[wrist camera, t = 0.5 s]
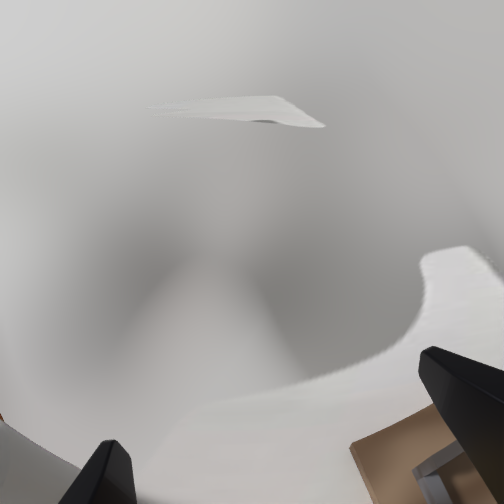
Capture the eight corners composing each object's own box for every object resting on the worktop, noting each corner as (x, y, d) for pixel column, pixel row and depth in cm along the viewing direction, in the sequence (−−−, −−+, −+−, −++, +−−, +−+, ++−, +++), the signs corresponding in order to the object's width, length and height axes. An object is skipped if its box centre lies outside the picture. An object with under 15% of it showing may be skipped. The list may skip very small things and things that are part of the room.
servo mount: (562, 516, 7) (603, 499, 4) (425, 624, 6) (456, 639, 2) (484, 374, 21) (510, 338, 18) (349, 448, 20) (361, 424, 16)
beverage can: (115, 510, 17) (7, 466, 9) (65, 542, 14) (-50, 506, 6) (78, 454, 21) (-17, 384, 13) (33, 485, 17) (-67, 427, 10)
